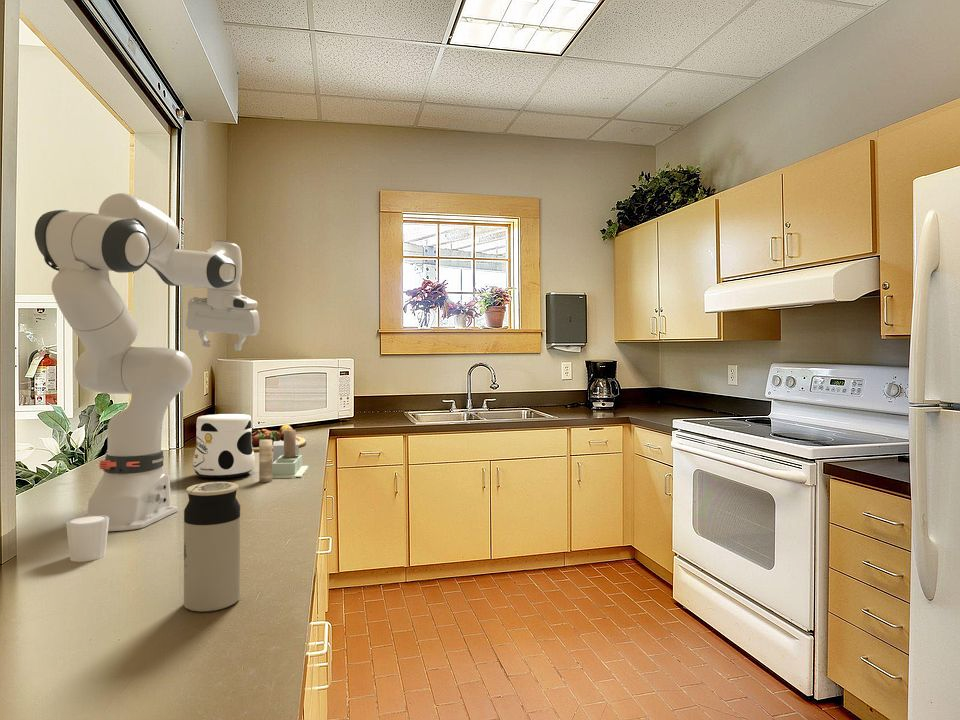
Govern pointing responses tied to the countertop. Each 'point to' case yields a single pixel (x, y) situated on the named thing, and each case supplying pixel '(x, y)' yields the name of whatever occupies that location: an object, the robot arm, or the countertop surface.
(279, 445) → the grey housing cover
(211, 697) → the countertop surface
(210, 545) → the travel mug
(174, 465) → the countertop surface
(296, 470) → the pin board
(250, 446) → the milk container
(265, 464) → the beech peg
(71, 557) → the white cup
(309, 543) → the countertop surface
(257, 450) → the wooden plate with food
